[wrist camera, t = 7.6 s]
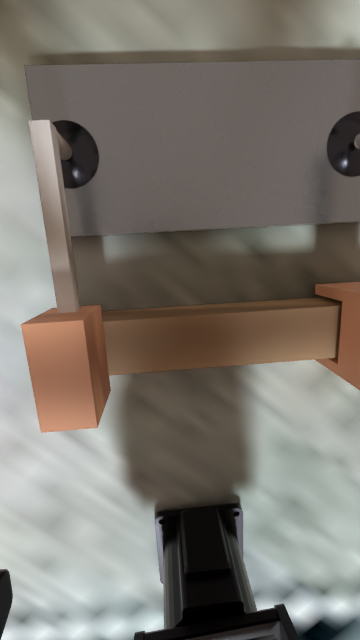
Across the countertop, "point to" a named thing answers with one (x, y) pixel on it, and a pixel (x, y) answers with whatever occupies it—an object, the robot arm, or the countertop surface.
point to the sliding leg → (346, 325)
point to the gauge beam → (144, 323)
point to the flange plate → (204, 143)
